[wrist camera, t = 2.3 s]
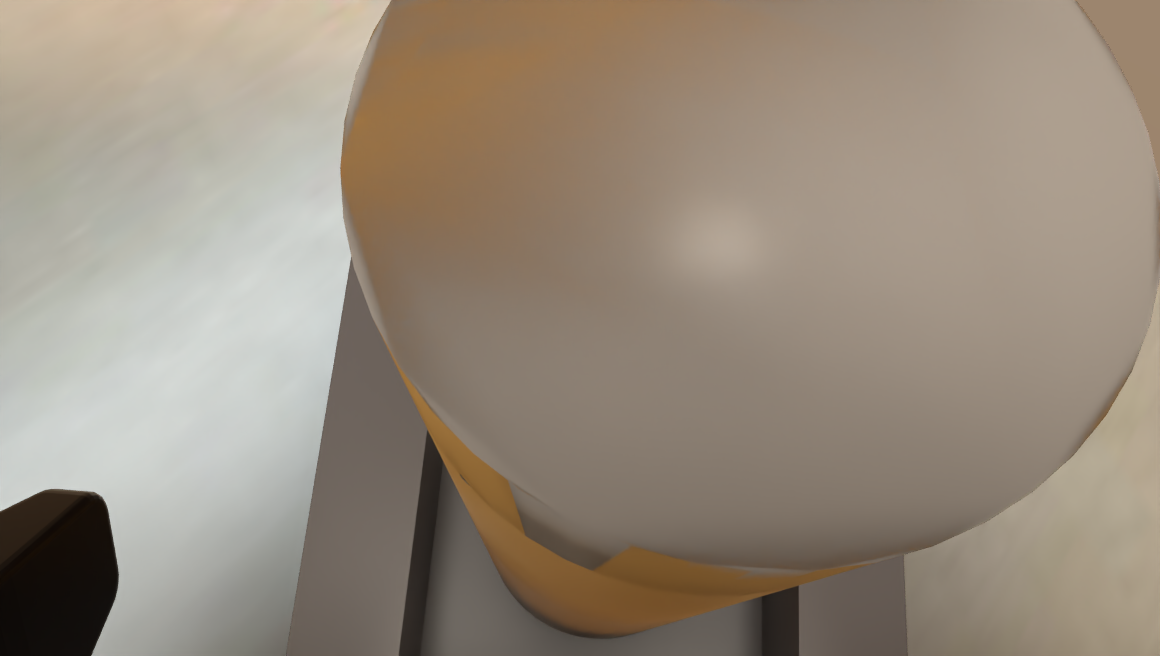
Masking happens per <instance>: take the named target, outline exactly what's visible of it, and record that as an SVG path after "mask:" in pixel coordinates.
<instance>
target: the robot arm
mask: <svg viewBox="0 0 1160 656" xmlns="http://www.w3.org/2000/svg"><path fill="white" fill-rule="evenodd" d="M118 580H119V573H118V565H117V559H116V553H115V548H114V542H113V536H112V530H111V525H110V519H109V513H108V509H107V505H106V503H105V501H104V499H103V498H102V497H101V496H100V495H98V494H97V493H95V492H88V491H76V490H63V489H49V490H44V491H42V492H40V493H37V494H35V495H33V496H31V497H29V498H27V499H25V500H23V501H21V502H19V503H17V504H15V505H13V506H11V507H9V508H7V509H5V510H2V511H0V656H91V655H92V653H93V650H94V648H95V646H96V643H97V641H98V639H99V636H100V634H101V632H102V629H103V627H104V624H105V622H106V620H107V617H108V615H109V613H110V610H111V608H112V606H113V603H114V600H115V597H116V593H117V589H118Z"/></svg>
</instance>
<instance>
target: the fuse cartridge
mask: <svg viewBox="0 0 1160 656" xmlns="http://www.w3.org/2000/svg"><path fill="white" fill-rule="evenodd" d="M340 169H341V186H342V203H343V218H344V223H345V228H346V232H347V237H348V242H349V247H350V251H351V256H352V261H353V266H354V269H355V272H356V275H357V277H358V280H359V283H360V285H361V288H362V291H363V294H364V296H365V299H366V302H367V304H368V307H369V310H370V313H371V315H372V318H373V320H374V322H375V324H376V326H377V328H378V330H379V332H380V334H381V336H382V338H383V340H384V342H385V344H386V346H387V348H388V350H389V352H390V354H391V356H392V358H393V360H394V362H395V364H396V366H397V368H398V370H399V372H400V375H401V377H402V379H403V381H404V383H405V385H406V387H407V389H408V391H409V393H410V395H411V397H412V399H413V401H414V403H415V405H416V407H417V409H418V411H419V413H420V415H421V417H422V419H423V421H424V423H425V425H426V427H427V429H428V431H429V433H430V435H431V437H432V439H433V441H434V443H435V445H436V447H437V449H438V451H439V453H440V455H441V457H442V460H443V462H444V464H445V466H446V468H447V470H448V472H449V474H450V476H451V478H452V480H453V482H454V484H455V486H456V488H457V490H458V492H459V494H460V496H461V498H462V500H463V502H464V504H465V506H466V508H467V510H468V512H469V514H470V516H471V518H472V520H473V522H474V524H475V526H476V528H477V530H478V532H479V534H480V536H481V538H482V540H483V542H484V545H485V547H486V549H487V551H488V553H489V555H490V557H491V559H492V561H493V563H494V565H495V567H496V569H497V571H498V573H499V575H500V576H501V578H502V580H503V582H504V584H505V586H506V587H507V588H508V590H509V591H510V593H511V594H512V595H513V597H514V598H515V599H516V600H517V601H518V602H519V603H520V604H521V605H522V606H523V607H524V609H526V610H527V611H528V612H529V613H531V614H532V615H533V616H534V617H536V618H537V619H538V620H540V621H542V622H543V623H545V624H547V625H548V626H550V627H552V628H555V629H557V630H559V631H562V632H564V633H568V634H571V635H575V636H578V637H585V638H593V639H610V638H617V637H624V636H628V635H631V634H635V633H638V632H642V631H645V630H649V629H652V628H655V627H659V626H662V625H666V624H669V623H672V622H676V621H679V620H683V619H686V618H689V617H693V616H696V615H700V614H703V613H707V612H710V611H713V610H717V609H720V608H724V607H727V606H730V605H734V604H737V603H741V602H744V601H747V600H751V599H754V598H758V597H761V596H764V595H768V594H771V593H775V592H778V591H782V590H785V589H788V588H792V587H795V586H799V585H802V584H805V583H809V582H812V581H816V580H819V579H822V578H826V577H829V576H833V575H836V574H839V573H843V572H846V571H850V570H853V569H856V568H860V567H863V566H867V565H870V564H874V563H877V562H880V561H884V560H887V559H891V558H894V557H897V556H901V555H904V554H908V553H911V552H914V551H918V550H921V549H925V548H928V547H931V546H934V545H936V544H939V543H941V542H943V541H945V540H948V539H950V538H952V537H954V536H956V535H959V534H961V533H963V532H965V531H967V530H970V529H972V528H974V527H976V526H979V525H981V524H983V523H985V522H987V521H988V520H990V519H991V518H993V517H995V516H996V515H998V514H999V513H1001V512H1002V511H1004V510H1005V509H1007V508H1008V507H1010V506H1012V505H1013V504H1015V503H1016V502H1018V501H1019V500H1021V499H1022V498H1024V497H1025V496H1027V495H1029V494H1030V493H1032V492H1033V491H1034V490H1035V489H1036V488H1038V487H1039V486H1040V485H1041V484H1042V483H1043V482H1044V481H1045V480H1046V479H1048V478H1049V477H1050V476H1051V475H1052V474H1053V473H1054V472H1055V471H1057V470H1058V469H1059V468H1060V467H1061V466H1062V465H1063V464H1064V463H1066V462H1067V461H1068V460H1069V459H1070V458H1071V457H1072V456H1073V455H1074V454H1075V453H1076V452H1077V450H1078V449H1079V448H1080V447H1081V445H1082V444H1083V443H1084V442H1085V441H1086V439H1087V438H1088V437H1089V436H1090V434H1091V433H1092V432H1093V431H1094V430H1095V428H1096V427H1097V426H1098V425H1099V423H1100V422H1101V421H1102V420H1103V419H1104V417H1105V416H1106V415H1107V413H1108V411H1109V410H1110V408H1111V406H1112V404H1113V403H1114V401H1115V399H1116V398H1117V396H1118V394H1119V392H1120V391H1121V389H1122V387H1123V386H1124V384H1125V382H1126V380H1127V379H1128V377H1129V375H1130V374H1131V372H1132V369H1133V367H1134V364H1135V362H1136V359H1137V357H1138V354H1139V351H1140V349H1141V346H1142V344H1143V341H1144V338H1145V336H1146V333H1147V331H1148V328H1149V326H1150V322H1151V317H1152V312H1153V308H1154V303H1155V299H1156V294H1157V289H1158V285H1159V280H1160V185H1159V178H1158V173H1157V170H1156V165H1155V160H1154V156H1153V152H1152V147H1151V143H1150V139H1149V134H1148V131H1147V129H1146V126H1145V124H1144V121H1143V118H1142V115H1141V113H1140V110H1139V108H1138V105H1137V102H1136V99H1135V97H1134V94H1133V91H1132V89H1131V87H1130V85H1129V83H1128V81H1127V79H1126V78H1125V76H1124V74H1123V72H1122V70H1121V68H1120V66H1119V64H1118V63H1117V60H1116V58H1115V57H1114V55H1113V53H1112V51H1111V49H1110V47H1109V46H1108V44H1107V43H1106V41H1105V40H1104V39H1103V37H1102V36H1101V34H1100V33H1099V31H1098V30H1097V28H1096V27H1095V25H1094V24H1093V23H1092V21H1091V20H1090V18H1089V17H1088V16H1087V14H1086V13H1085V11H1084V10H1083V8H1082V7H1081V6H1080V5H1079V4H1078V2H1077V1H1076V0H391V2H390V4H389V5H388V7H387V9H386V11H385V12H384V14H383V16H382V17H381V19H380V21H379V23H378V24H377V26H376V28H375V29H374V31H373V33H372V36H371V38H370V41H369V43H368V46H367V48H366V51H365V53H364V56H363V58H362V61H361V63H360V65H359V68H358V70H357V73H356V76H355V80H354V84H353V88H352V92H351V96H350V101H349V105H348V109H347V113H346V117H345V123H344V134H343V145H342V156H341V167H340Z"/></svg>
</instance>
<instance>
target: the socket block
mask: <svg viewBox="0 0 1160 656" xmlns="http://www.w3.org/2000/svg"><path fill="white" fill-rule="evenodd" d="M286 656H908V653H907V629H906V605H905V580H904V556H903V555H901V556H897V557H894V558H891V559H887V560H884V561H880V562H877V563H874V564H870V565H867V566H863V567H860V568H856V569H853V570H850V571H846V572H843V573H839V574H836V575H833V576H829V577H826V578H822V579H819V580H816V581H812V582H809V583H805V584H802V585H799V586H795V587H792V588H788V589H785V590H782V591H778V592H775V593H771V594H768V595H764V596H761V597H758V598H754V599H751V600H747V601H744V602H741V603H737V604H734V605H730V606H727V607H724V608H720V609H717V610H713V611H710V612H707V613H703V614H700V615H696V616H693V617H689V618H686V619H683V620H679V621H676V622H672V623H669V624H666V625H662V626H659V627H655V628H652V629H649V630H645V631H642V632H638V633H635V634H631V635H628V636H624V637H617V638H610V639H593V638H585V637H578V636H575V635H571V634H568V633H564V632H562V631H559V630H557V629H555V628H552V627H550V626H548V625H547V624H545V623H543V622H542V621H540V620H538V619H537V618H536V617H534V616H533V615H532V614H531V613H529V612H528V611H527V610H526V609H524V607H523V606H522V605H521V604H520V603H519V602H518V601H517V600H516V599H515V598H514V597H513V595H512V594H511V593H510V591H509V590H508V588H507V587H506V586H505V584H504V582H503V580H502V578H501V576H500V575H499V573H498V571H497V569H496V567H495V565H494V563H493V561H492V559H491V557H490V555H489V553H488V551H487V549H486V547H485V545H484V542H483V540H482V538H481V536H480V534H479V532H478V530H477V528H476V526H475V524H474V522H473V520H472V518H471V516H470V514H469V512H468V510H467V508H466V506H465V504H464V502H463V500H462V498H461V496H460V494H459V492H458V490H457V488H456V486H455V484H454V482H453V480H452V478H451V476H450V474H449V472H448V470H447V468H446V466H445V464H444V462H443V460H442V457H441V455H440V453H439V451H438V449H437V447H436V445H435V443H434V441H433V439H432V437H431V435H430V433H429V431H428V429H427V427H426V425H425V423H424V421H423V419H422V417H421V415H420V413H419V411H418V409H417V407H416V405H415V403H414V401H413V399H412V397H411V395H410V393H409V391H408V389H407V387H406V385H405V383H404V381H403V379H402V377H401V375H400V372H399V370H398V368H397V366H396V364H395V362H394V360H393V358H392V356H391V354H390V352H389V350H388V348H387V346H386V344H385V342H384V340H383V338H382V336H381V334H380V332H379V330H378V328H377V326H376V324H375V322H374V320H373V318H372V315H371V313H370V310H369V307H368V304H367V302H366V299H365V296H364V294H363V291H362V288H361V285H360V283H359V280H358V277H357V275H356V272H355V269H354V266H353V261H352V256H351V262H350V268H349V274H348V280H347V286H346V292H345V298H344V304H343V311H342V317H341V323H340V329H339V335H338V341H337V347H336V353H335V359H334V365H333V371H332V378H331V384H330V390H329V396H328V402H327V408H326V414H325V420H324V426H323V432H322V439H321V445H320V451H319V457H318V463H317V469H316V475H315V481H314V487H313V493H312V499H311V506H310V512H309V518H308V524H307V530H306V536H305V542H304V548H303V554H302V560H301V566H300V573H299V579H298V585H297V591H296V597H295V603H294V609H293V615H292V621H291V627H290V634H289V640H288V646H287V652H286Z"/></svg>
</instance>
